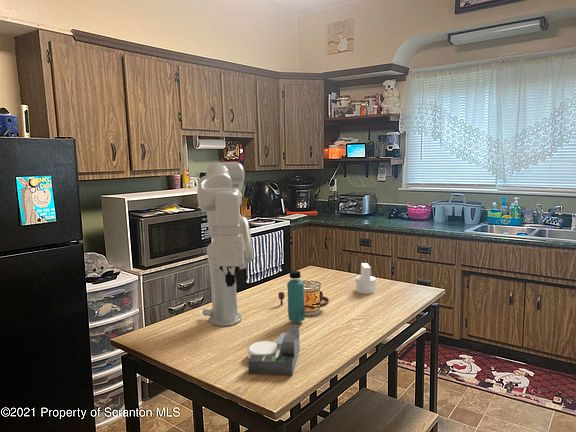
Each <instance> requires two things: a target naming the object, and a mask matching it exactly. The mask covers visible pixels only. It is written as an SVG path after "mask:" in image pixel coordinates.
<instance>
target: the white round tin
mask: <svg viewBox="0 0 576 432" xmlns="http://www.w3.org/2000/svg"><path fill="white" fill-rule="evenodd" d="M247 351H248V353H247V354H248V359H249V358H250V356H251V355H270V356H275V355H276V353H277V343H276V342H274V341H268V340H265V341H264V340H263V341H262V340H261V341H257V342H254V343H252V344H251V345H249V346H248V348H247Z"/></svg>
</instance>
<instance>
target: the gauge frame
mask: <svg viewBox="0 0 576 432" xmlns="http://www.w3.org/2000/svg"><path fill="white" fill-rule="evenodd" d="M300 344H301V343H300V325H299V326H296V325H295V326H293V325H290V326H289V328H288V330H287V333H286V338H285V341H284V354H285V355H284V356H278V358H275V356H270V355H251V356H250V358H248V360H247V369H248V374H249V375H265V376H285V377H287V376H288V377H293V375H294V372H295V368H296V365H297V361H298V357H299V353H300V351H301V350H300V346H301V345H300Z"/></svg>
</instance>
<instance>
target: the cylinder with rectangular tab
mask: <svg viewBox="0 0 576 432" xmlns="http://www.w3.org/2000/svg"><path fill="white" fill-rule="evenodd" d="M371 269H372V268H371V266H370V265H369V263H367V262H361V263H360V275H359V276H356V277H355V292H357V293H359V294H365V295H369V294H374V293H376V291H377V289H376V287H377V286H376V285H377V281H376V280H377V279H376V277H375V276H372V275H371V274H372V273H371V272H372V270H371Z"/></svg>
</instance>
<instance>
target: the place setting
mask: <svg viewBox="0 0 576 432" xmlns="http://www.w3.org/2000/svg"><path fill="white" fill-rule="evenodd" d="M319 291H320V302H322V301H325V302H323V303H319V304H320V307H324V306H327V305H328V304H329V301H330V299H329V298H328V297H327V296H324V293H323V291H321V290H319ZM277 295H278V299H279V300H280V306H282V305H283V304H284V302H283V300H285V292H284V291H280V292H278V293H277ZM283 306H284V305H283ZM320 307H319V308H320Z"/></svg>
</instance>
